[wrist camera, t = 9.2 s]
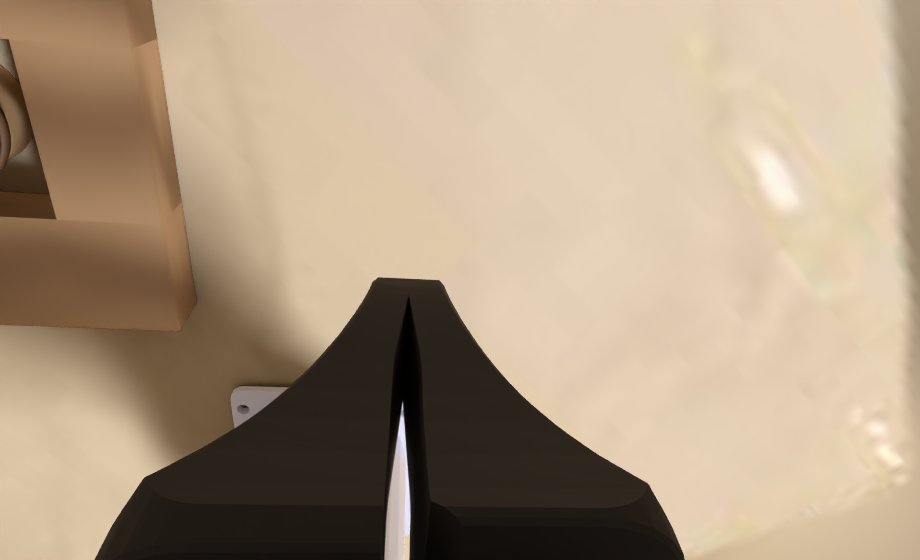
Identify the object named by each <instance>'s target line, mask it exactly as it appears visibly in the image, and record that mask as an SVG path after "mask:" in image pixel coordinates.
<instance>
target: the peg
mask: <svg viewBox="0 0 920 560" xmlns="http://www.w3.org/2000/svg"><path fill="white" fill-rule="evenodd" d="M32 136H33V129H32V125H31V122H30V118H29V114H28V110H27V106H26V103H25V99H24V95H23V91H22V88H21V85H20V84H19V83H18V81H17V80H16V79H15V78H14V77H13V76H12V75H11V74H10V73H9V72H8V71H7V70H6V69H5V68H3V67H2V66H1V65H0V171H1V170H2V169H3V167H4V166H5V165H6V163H7V160H8V159H10V158H12V157H13V156H15V155H17V154H19V153H20V152H22V151H23V150H24V149H25V148H26V147H27V145H28V144H29V143H30V141H31V139H32Z"/></svg>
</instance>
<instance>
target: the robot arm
mask: <svg viewBox="0 0 920 560" xmlns="http://www.w3.org/2000/svg"><path fill="white" fill-rule="evenodd" d="M230 400H231V408H232V415H233V423H234V429H233V430H231V431H230V432H228V433H226V434H225V435H223V436H222V437H220V438H218V439H217V440H215V441H213V442H212V443H210V444H208V445H206V446H205V447H203V448H201V449H199V450H197V451H196V452H194V453H192V454H190V455H188V456H186V457H184V458H182V459H180V460H178V461H176V462H174V463H172V464H171V465H169V466H167V467H165V468H163V469H161V470H159V471H157V472H155V473H153V474H151V475H149V476H146V477H145V478H144V479H143V480H142V482H141V483H140V484H139V486H138V487H137V489H136V490H135V492H134V493H133V495H132V496H131V498H130V499H129V501H128V502H127V504H126V505H125V507H124V508H123V510H122V511H121V513H120V514H119V516H118V517H117V519H116V520H115V522H114V523H113V525H112V527H111V529H110V531H109V533H108V534H107V536H106V538H105V540H104V542H103V544H102V546H101V548H100V550H99V552H98V554H97V556H96V558H95V560H404V550H405V537H406V536H407V535H408V534H409V530H410V560H685V559H684V554H683V552H682V550H681V547H680V545H679V542H678V540H677V538H676V535H675V533H674V531H673V528H672V526H671V524H670V522H669V520H668V518H667V516H666V515H665V513H664V511H663V509H662V507H661V505H660V504H659V502H658V500H657V499H656V497H655V495H654V493H653V492H652V490H651V488H650V486H649V484H648V483H646V482H644V481H642V480H641V479H639V478H637V477H636V476H634V475H632V474H630V473H629V472H627V471H625V470H623V469H622V468H620V467H618V466H616V465H615V464H613V463H611V462H610V461H608V460H606V459H604V458H603V457H601V456H599V455H598V454H596V453H595V452H593V451H592V450H590V449H589V448H587V447H586V446H584V445H583V444H582V443H580V442H579V441H577V440H576V439H574V438H573V437H571V436H570V435H569V434H567V433H566V432H565V431H563V430H562V429H561V428H559V427H558V426H557V425H555V424H554V423H553V422H552V421H551V420H549V419H548V418H547V417H546V416H545V415H543V414H542V413H541V412H540V411H539V410H537V409H536V408H535V407H534V406H533V405H531V404H530V403H529V402H528V401H527V400H526V399H525V398H524V397H523V396H522V395H521V394H520V393H519V392H518V391H517V390H516V389H515V388H514V387H513V386H512V385H511V384H510V383H509V382H508V381H507V380H506V379H505V377H504V376H503V375H502V374H501V373H500V372H499V371H498V369H497V368H496V367H495V366H494V365H493V363H492V362H491V361H490V360H489V358H488V357H487V356H486V354H485V353H484V352H483V351H482V349H481V348H480V346H479V345H478V344H477V342H476V341H475V339H474V338H473V336H472V335H471V333H470V332H469V330H468V329H467V327H466V326H465V324H464V323H463V321H462V320H461V318H460V316H459V315H458V313H457V311H456V309H455V308H454V306H453V304H452V302H451V300H450V298H449V296H448V294H447V292H446V290H445V287H444V285H443V284H442V283H441V282H440V281H439V280H422V279H401V278H379V277H378V278H377V279H376V280H375V281H373V282H372V285H371V287H370V289H369V291H368V293H367V295H366V297H365V298H364V300H363V302H362V303H361V305H360V306H359V308H358V309H357V311H356V312H355V314H354V315H353V317H352V318H351V319H350V321H349V322H348V323H347V325H346V326H345V328H344V329H343V330H342V332H341V333H340V334H339V335H338V337H337V338H336V339H335V340H334V341H333V342H332V344H331V345H330V346H329V347H328V348H327V349H326V351H325V352H324V353H323V354H322V355H321V356H320V357H319V358H318V360H317V361H316V362H315V363H314V364H313V365H312V366H311V367H310V368H309V369H308V370H307V371H306V372H305V373H304V374H303V375H302V376H301V377H299V378H298V379H297V380H296V381H295V382H294V383H293V384H292V385H291V386H290V387H256V386H241V387H237V388H235V389H234V391H233V392H232V395H231V399H230ZM240 405H246V406H247V407H249V408H244V407H242V406H240Z"/></svg>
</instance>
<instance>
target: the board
mask: <svg viewBox="0 0 920 560" xmlns="http://www.w3.org/2000/svg"><path fill="white" fill-rule="evenodd" d="M0 39H9V42H10V46H11V50H12V54H13V58H14V61H15V65H16V69H17V73H18V76H19V80H20V84H21V88H22V91H23V95H24V99H25V103H26V106H27V110H28V114H29V118H30V122H31V125H32V129H33V133H34V137H35V140H36V144H37V148H38V152H39V155H40V159H41V163H42V167H43V171H44V174H45V178H46V182H47V186H48V189H49V193H50V194H34V193H17V192H0V325H21V326H50V327H78V328H106V329H135V330H163V331H180V329H181V327H182V326H183V324H184V322H185V321H186V319H187V317H188V316H189V314H190V312H191V311H192V309H193V307H194V306H195V304H196V302H197V301H196V294H195V288H194V281H193V275H192V268H191V261H190V255H189V248H188V241H187V235H186V228H185V221H184V215H183V208H182V201H181V195H180V188H179V181H178V175H177V168H176V162H175V155H174V148H173V142H172V135H171V128H170V122H169V115H168V108H167V102H166V95H165V88H164V82H163V75H162V68H161V62H160V55H159V49H158V42H157V35H156V29H155V22H154V15H153V9H152V2H151V0H0Z"/></svg>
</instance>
